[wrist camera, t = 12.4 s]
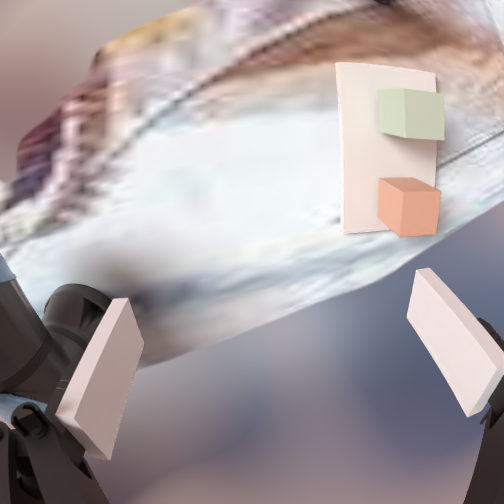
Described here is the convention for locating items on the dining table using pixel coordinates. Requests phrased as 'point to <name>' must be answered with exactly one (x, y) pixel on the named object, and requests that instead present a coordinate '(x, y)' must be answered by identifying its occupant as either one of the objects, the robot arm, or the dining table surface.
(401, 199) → the stand
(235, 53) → the dining table surface
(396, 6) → the dining table surface
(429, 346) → the robot arm
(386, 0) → the grey curved bar
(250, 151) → the dining table surface
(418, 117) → the pale green block
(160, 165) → the dining table surface
